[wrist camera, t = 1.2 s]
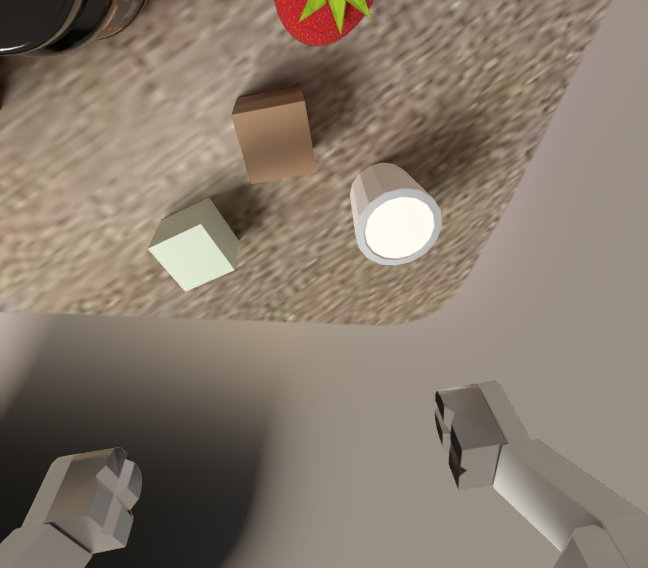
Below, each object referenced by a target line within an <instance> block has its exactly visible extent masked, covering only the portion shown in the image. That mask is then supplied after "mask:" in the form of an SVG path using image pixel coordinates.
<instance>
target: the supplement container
mask: <svg viewBox="0 0 648 568" xmlns="http://www.w3.org/2000/svg"><path fill="white" fill-rule="evenodd" d="M146 3H147V0H0V56H11V55H19V56H25V57H44V58H45V57H54V56H59V55H63V54H67V53H70V52H72V51H75V50H77V49H79V48H81V47H83V46H84V45H86V44H87V43H90V42H93V41H96V40H102V39H106V38H109V37H112V36H114V35H117V34H119V33H120V32H122V31H124V30H125V29H127V28H128V27H129V26H131V24H132V23H133V22H134V21H135V20H136V19H137V18H138V17H139V15H140V14H141V12H142V11H143V9H144V7H145V5H146Z"/></svg>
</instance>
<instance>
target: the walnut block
mask: <svg viewBox="0 0 648 568" xmlns="http://www.w3.org/2000/svg"><path fill="white" fill-rule="evenodd" d="M232 118H233V122H234V125H235V129H236V132H237V136H238V139H239V143H240V146H241V150H242V153H243V157H244V160H245V164H246V168H247V171H248V175H249V178H250V182H251V184H255V183H260V182H266V181H271V180H276V179H282V178H287V177H292V176H298V175H303V174H308V173H314V172H317V169H316V163H315V157H314V152H313V146H312V140H311V134H310V129H309V123H308V117H307V111H306V105H305V100H304V96H303V91H302V87H301V86H296V87H291V88H286V89H281V90H275V91H270V92H265V93H260V94H255V95H249V96H244V97H239V98H237V100H236V103H235V106H234V109H233V112H232Z"/></svg>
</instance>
